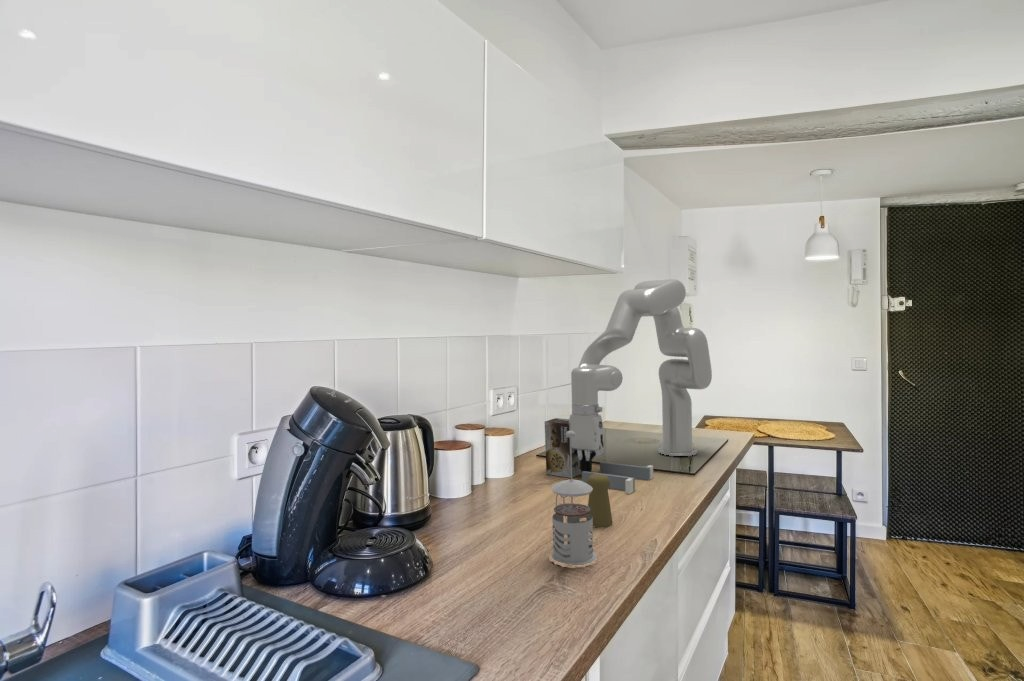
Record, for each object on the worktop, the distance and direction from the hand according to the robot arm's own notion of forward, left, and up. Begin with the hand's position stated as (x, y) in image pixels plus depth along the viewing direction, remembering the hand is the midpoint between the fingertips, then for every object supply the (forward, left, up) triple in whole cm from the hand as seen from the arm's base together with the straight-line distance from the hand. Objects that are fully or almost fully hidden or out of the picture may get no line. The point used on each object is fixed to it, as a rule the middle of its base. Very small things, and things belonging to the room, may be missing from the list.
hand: (586, 473), depth 175 cm
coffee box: (-1, -8, -2) cm, 8 cm away
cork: (+33, +19, -2) cm, 38 cm away
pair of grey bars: (0, +9, -1) cm, 9 cm away
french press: (+53, +22, -2) cm, 57 cm away
